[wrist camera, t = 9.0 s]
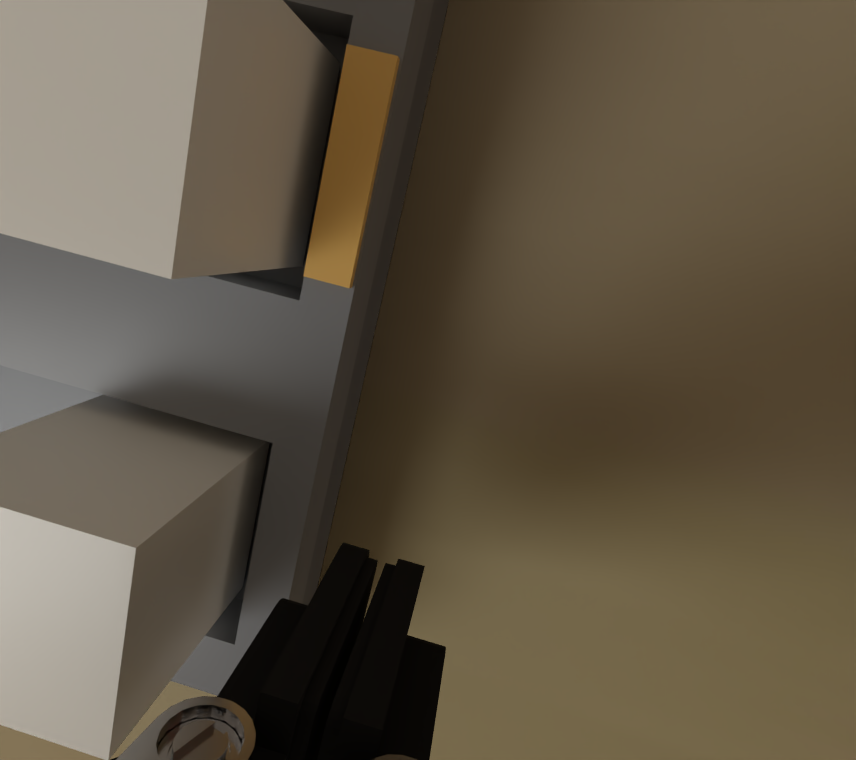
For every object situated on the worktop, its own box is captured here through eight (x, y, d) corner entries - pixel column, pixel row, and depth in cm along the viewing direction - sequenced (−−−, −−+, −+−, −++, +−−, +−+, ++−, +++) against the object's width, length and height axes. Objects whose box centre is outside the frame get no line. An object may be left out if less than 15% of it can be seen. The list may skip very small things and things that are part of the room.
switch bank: (-50, -589, 11) (-261, -906, 8) (559, -491, 10) (581, -803, 7) (-77, 509, 17) (-205, 567, 14) (307, 628, 16) (261, 718, 13)
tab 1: (149, 18, 12) (-105, -144, 7) (340, 63, 11) (216, -72, 6) (127, 220, 13) (-108, 204, 8) (302, 266, 12) (171, 279, 8)
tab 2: (109, 392, 14) (-110, 472, 9) (270, 438, 13) (136, 547, 8) (92, 541, 15) (-113, 687, 10) (242, 587, 14) (107, 760, 9)
